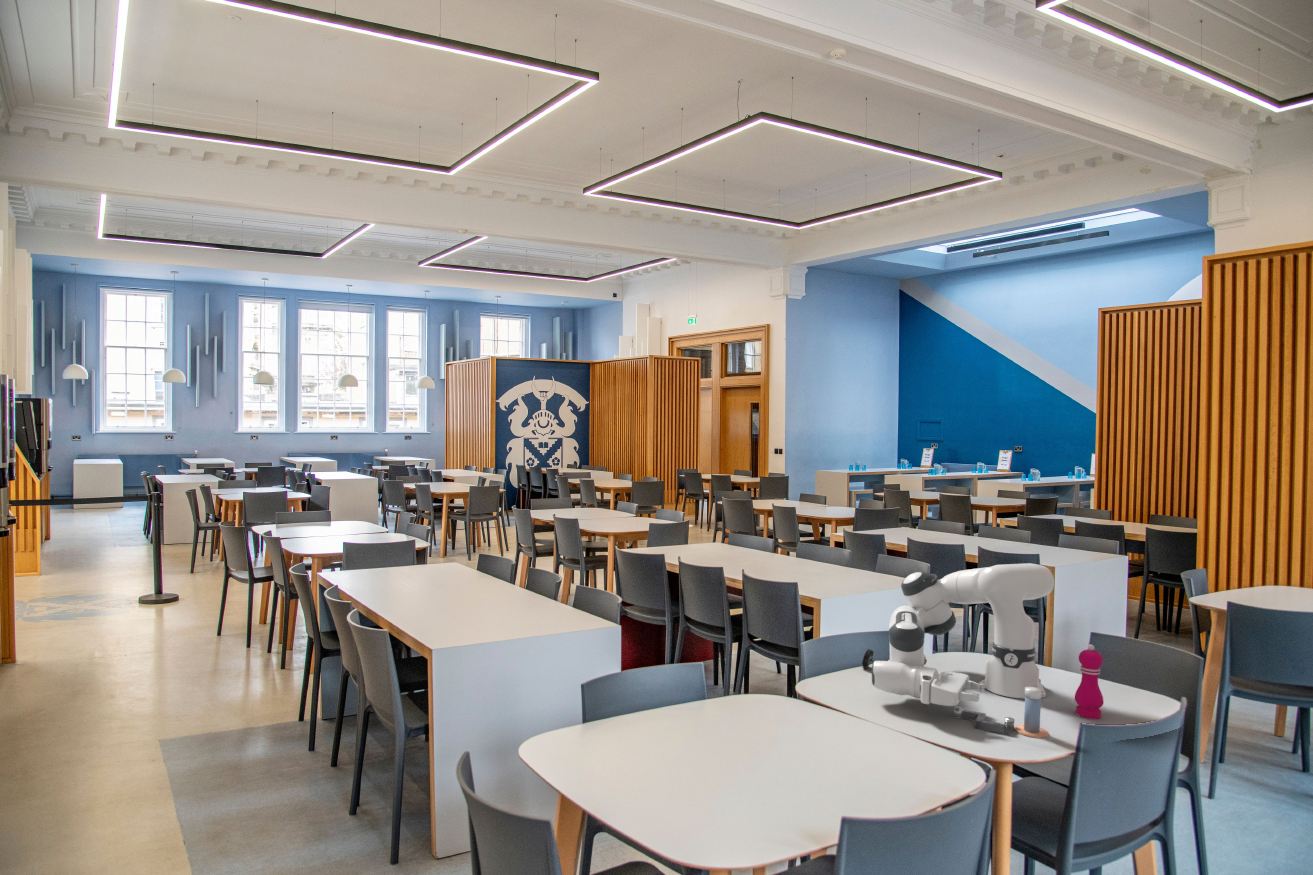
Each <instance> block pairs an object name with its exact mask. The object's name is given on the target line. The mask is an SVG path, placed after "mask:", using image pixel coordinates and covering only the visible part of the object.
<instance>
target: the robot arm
mask: <svg viewBox="0 0 1313 875" xmlns="http://www.w3.org/2000/svg"><path fill="white" fill-rule="evenodd" d="M938 578H939V576H938V575H937V574H935V573H930V572H926V571H916V572H913V573H911V574H908V575H907V576H906V577H905V578H904V579H903V580H902V582H901V585H900V587H901V590H902V593H903V596H905V599H906V600H907V602H908V604H909V605H901V606H899V607H897V608H895V609H894V611H893V612H892V614H891V616H890V619H889V622H888V641H889V659H888V660H873V661H874V662H872V665H871V684H872V686H873V687H874V688H875V689H877V690H880V691H882V692H885V693H888V694H889V693H890V694H894V695H899V696H907V695H908V696H910V697H912V698H914V699H919V700H920V703H921V704H924V705H930V704H933V705H940V706H945V707H947V706H948V707H958V705H959V703H960V702H976V703H978V702H979V701H980V694H979V693H984V691H985V690H988V691H990V693H991V692H992V693H993V694H996V695H999V696H1004V697H1008V698H1015V699H1025V687H1036V688H1039V689H1041V690H1042V694H1041V698H1046V697H1047V694H1046V691H1045V688H1044V686H1043V684H1042V682H1041V678H1040V668H1039V666H1038V665H1037V664H1036V662H1035V659H1036V648H1035V646H1034V643H1035V642H1034V641H1035V622H1034V620H1033V618H1031V617H1030V616H1029V615H1028V614H1027V613H1026V611H1025V608H1024V601H1030V600H1037V599H1040V598H1044V597H1047V596H1049V595H1050V594H1051V592H1052V591H1053V590H1054V587H1055V578H1054V575H1053V573H1052V572H1051V570H1050V569H1049V568H1048V567H1047V566H1044V565H1041V564H1036V563H1030V562H1028V563H1009V564H1007V563H1006V564H1005V563H1004V564H995V565H992V566H988V567H987V566H986V567H980V568H979V567H977V568H972V569H963V570H962V569H961V570H957V571H955V572H951V573H949V574H946V575H945V576H943V577H942V578H940V579H938ZM950 603H953V604H960V605H974V604H975V605H976V604H987V603H988V604H990V607H991V609H992V613H993V619H994V630H993V631H994V635H993V636H994V638H993V639H994V641H993V642H992V645H991V656H990V658H988V659H987V660H986V665H985V677H984V679H982V680H981V681H979V682H978V683H977V682H975V681H973V680H970V676H969V675H968V674H966V673H960V672H953V671H942V672H940V673H939V672H938V671H939V670H938V669H937V668H933V667H927V666H925V665H924V657H925V652H924V651H925V646H924V645H925V636H926V635H925V634H929V635H931V636H942V635H945V634H946V633H949V632H950V631H951V630H952V629H954V627H955V625H956V623H957V619H956V618H957V617H956V615H955V612H954V611H953V610H952V609H951V607H950ZM967 690H972V691H973V690H974V691H976V692H979V693H975V692H972V693H971V692H970V693H969V692H967Z"/></svg>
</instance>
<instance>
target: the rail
mask: <svg viewBox="0 0 1313 875" xmlns="http://www.w3.org/2000/svg"><path fill="white" fill-rule="evenodd" d="M953 707H954V711H953V712H954V713H953V717H954V718H956V719H963V720H969V721H973V722H974V728H975V729H978V730H982V731H987V732H992V733H996V734H997V733H998V734H1003V735H1006V736H1011V733H1012V730H1015V718H1013V717H1011V716H1010V717H1009V716H1006V717H1004V724H1003V723H998V722H995V721H994V722H993V721H988V720H986V716H987V714H986V713H985V712H979V711H974V710H969V709H964V707H962V706H953Z"/></svg>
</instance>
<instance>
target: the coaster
mask: <svg viewBox="0 0 1313 875" xmlns="http://www.w3.org/2000/svg"><path fill="white" fill-rule="evenodd" d="M1014 730H1015V732H1017V733H1018V734H1020V735H1022V736H1026V737H1029V738H1036V739H1044V738H1047V737H1049V734H1050V733H1049V732H1048V731H1047V730H1046V729H1045V728H1041V727H1040V732H1039V733H1030V732H1027V731H1025V730H1024V724H1021V725H1016V726H1014Z"/></svg>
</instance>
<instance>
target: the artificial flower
mask: <svg viewBox="0 0 1313 875" xmlns="http://www.w3.org/2000/svg"><path fill="white" fill-rule="evenodd" d="M874 661H875V660H874V651H873V650H872V649H870V648H868V649H867V650H866V651H865V653H864V655H863V659H862V663H861V664H862V669H865V670H867V669H868V668H869V666H870V664H871V663H874ZM927 662H928V659H927V657H926V656H924V666H926V663H927Z"/></svg>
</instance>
